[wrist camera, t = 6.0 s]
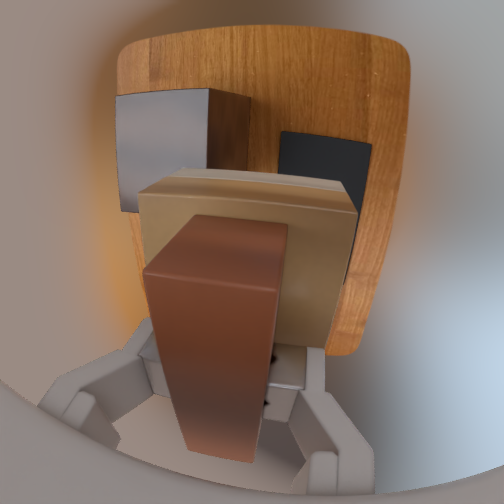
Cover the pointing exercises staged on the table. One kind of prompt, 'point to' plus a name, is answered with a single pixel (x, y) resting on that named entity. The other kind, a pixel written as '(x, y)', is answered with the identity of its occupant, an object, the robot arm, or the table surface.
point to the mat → (327, 162)
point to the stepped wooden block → (238, 289)
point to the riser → (177, 136)
